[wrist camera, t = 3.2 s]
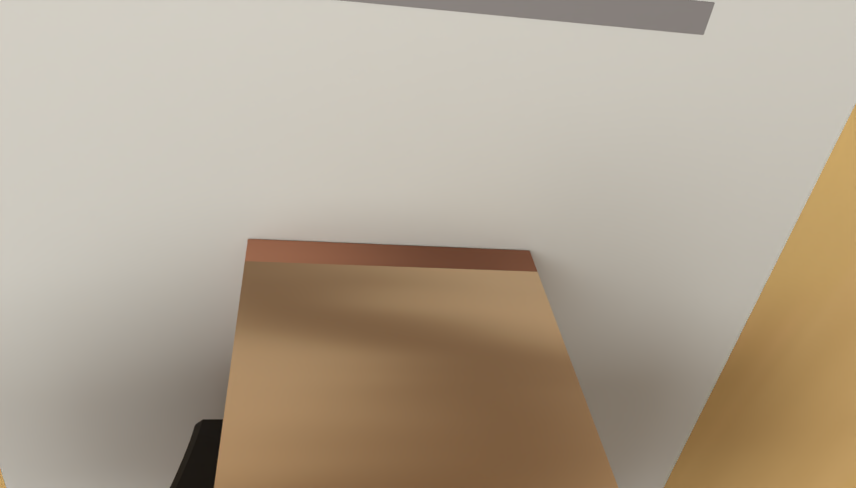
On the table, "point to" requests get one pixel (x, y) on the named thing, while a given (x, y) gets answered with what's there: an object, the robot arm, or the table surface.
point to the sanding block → (401, 373)
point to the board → (391, 191)
